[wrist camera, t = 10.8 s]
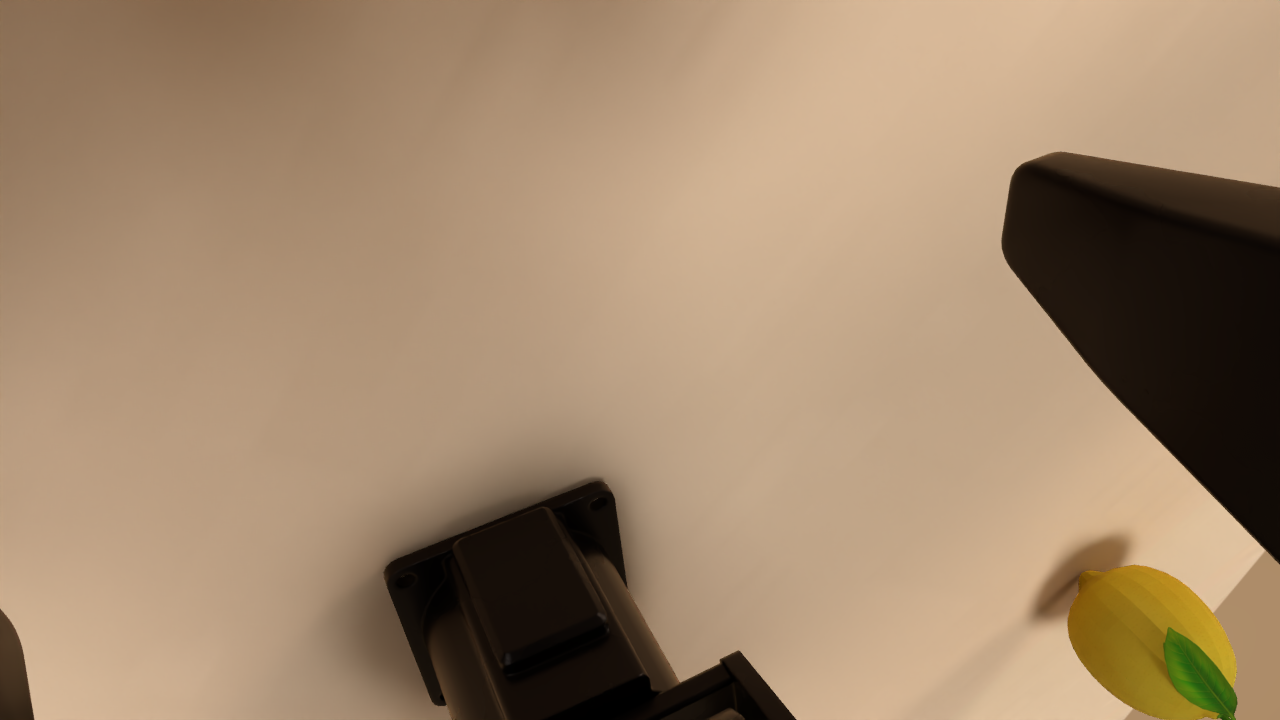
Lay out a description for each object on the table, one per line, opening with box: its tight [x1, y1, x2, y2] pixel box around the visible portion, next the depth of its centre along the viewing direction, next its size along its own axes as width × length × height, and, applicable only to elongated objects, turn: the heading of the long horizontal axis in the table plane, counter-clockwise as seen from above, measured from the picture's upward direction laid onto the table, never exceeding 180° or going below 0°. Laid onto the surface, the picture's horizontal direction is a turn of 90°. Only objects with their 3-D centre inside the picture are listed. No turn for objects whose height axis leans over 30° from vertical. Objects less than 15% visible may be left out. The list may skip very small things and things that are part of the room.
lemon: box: [1068, 565, 1237, 720], centre depth 43 cm, size 7×6×10 cm
